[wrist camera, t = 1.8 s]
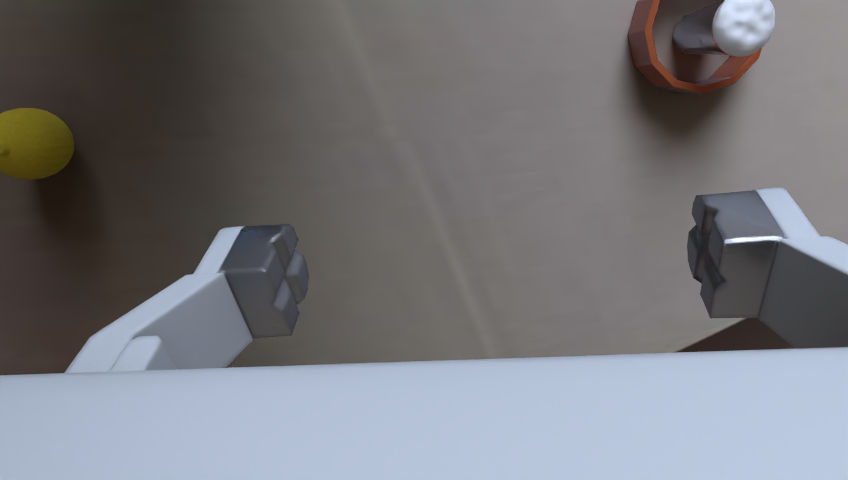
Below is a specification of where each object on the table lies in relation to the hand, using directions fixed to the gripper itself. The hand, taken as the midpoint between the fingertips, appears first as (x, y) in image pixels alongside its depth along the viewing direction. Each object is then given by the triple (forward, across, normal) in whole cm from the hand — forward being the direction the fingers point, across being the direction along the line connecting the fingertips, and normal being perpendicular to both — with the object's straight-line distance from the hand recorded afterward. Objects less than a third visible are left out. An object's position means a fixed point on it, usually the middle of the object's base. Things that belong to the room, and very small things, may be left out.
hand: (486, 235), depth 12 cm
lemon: (+33, +37, +12) cm, 51 cm away
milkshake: (+44, -16, +12) cm, 48 cm away
